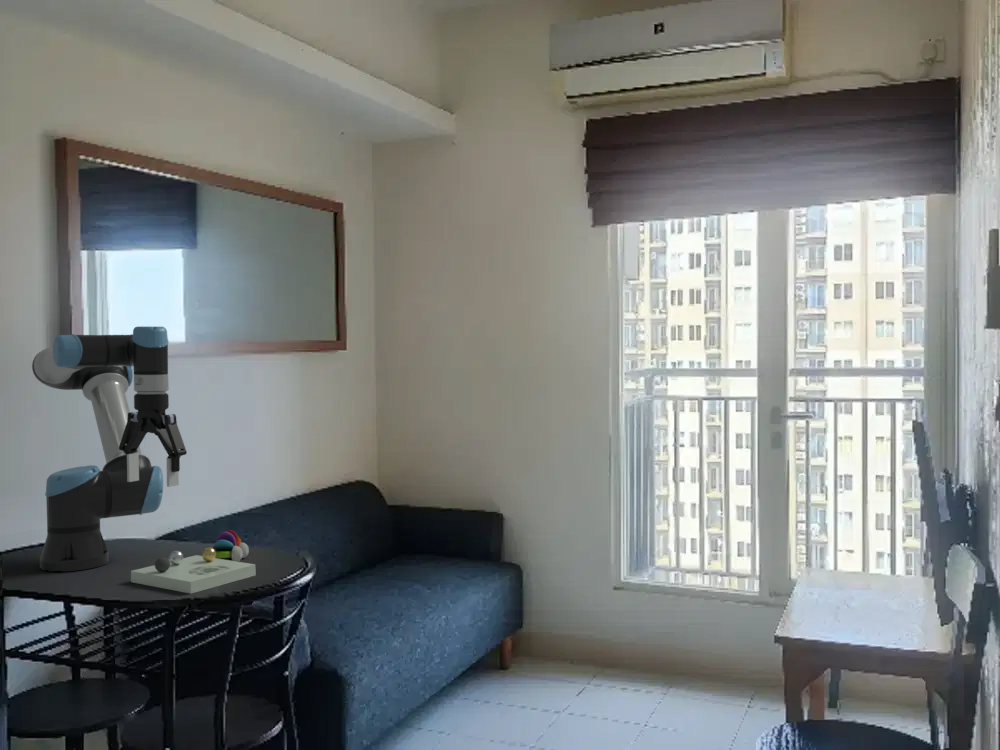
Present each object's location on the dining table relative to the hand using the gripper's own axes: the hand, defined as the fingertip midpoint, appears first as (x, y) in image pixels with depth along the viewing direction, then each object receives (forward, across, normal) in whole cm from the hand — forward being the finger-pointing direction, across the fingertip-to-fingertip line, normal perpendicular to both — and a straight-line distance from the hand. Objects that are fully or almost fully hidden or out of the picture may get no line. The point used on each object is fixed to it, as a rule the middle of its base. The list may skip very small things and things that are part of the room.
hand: (152, 483), depth 213 cm
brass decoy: (+16, +13, +5) cm, 21 cm away
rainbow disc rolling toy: (+21, +8, +16) cm, 27 cm away
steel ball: (+16, +9, -1) cm, 18 cm away
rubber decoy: (+16, +12, -7) cm, 21 cm away
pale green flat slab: (+20, +15, -1) cm, 25 cm away
